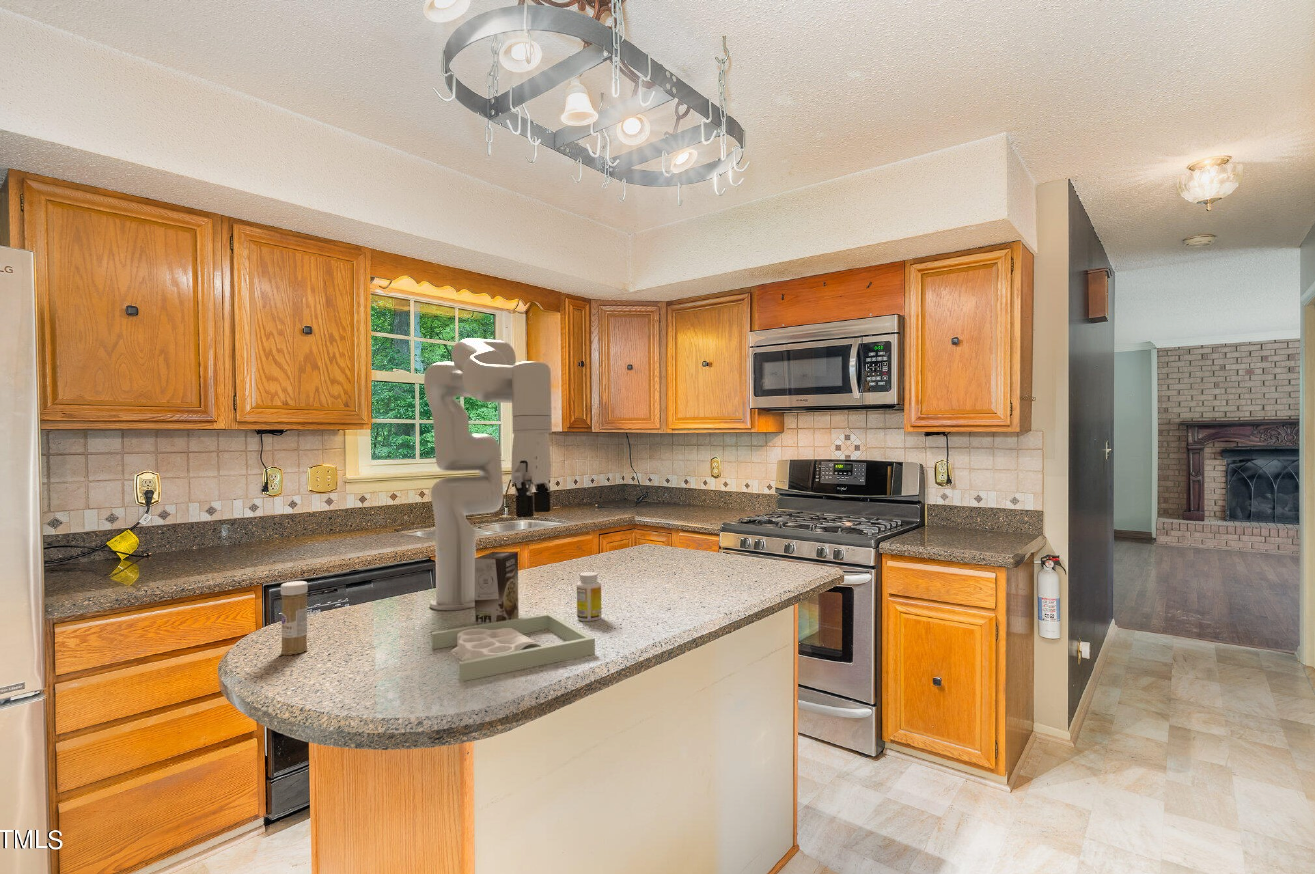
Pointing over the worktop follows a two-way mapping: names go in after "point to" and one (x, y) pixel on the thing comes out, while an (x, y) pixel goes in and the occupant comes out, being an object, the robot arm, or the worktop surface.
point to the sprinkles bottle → (294, 617)
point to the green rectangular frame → (517, 660)
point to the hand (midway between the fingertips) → (534, 514)
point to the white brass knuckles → (490, 643)
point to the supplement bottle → (588, 597)
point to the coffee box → (496, 587)
